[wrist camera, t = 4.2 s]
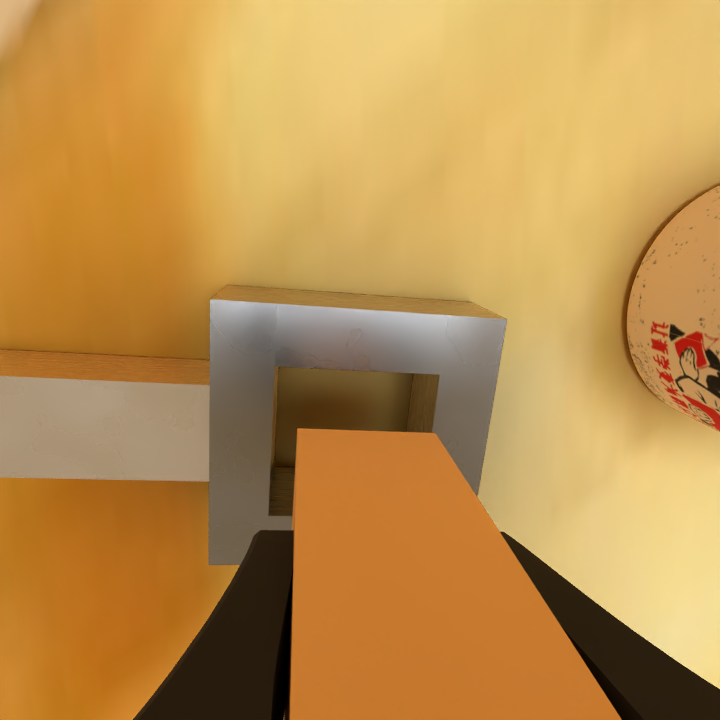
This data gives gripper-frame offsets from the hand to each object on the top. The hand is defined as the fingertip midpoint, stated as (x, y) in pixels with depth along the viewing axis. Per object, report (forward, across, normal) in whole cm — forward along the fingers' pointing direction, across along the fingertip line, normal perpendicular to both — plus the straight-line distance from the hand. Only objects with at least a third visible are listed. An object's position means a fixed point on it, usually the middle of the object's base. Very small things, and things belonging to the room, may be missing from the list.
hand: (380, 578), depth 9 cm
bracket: (+9, +3, 0) cm, 9 cm away
